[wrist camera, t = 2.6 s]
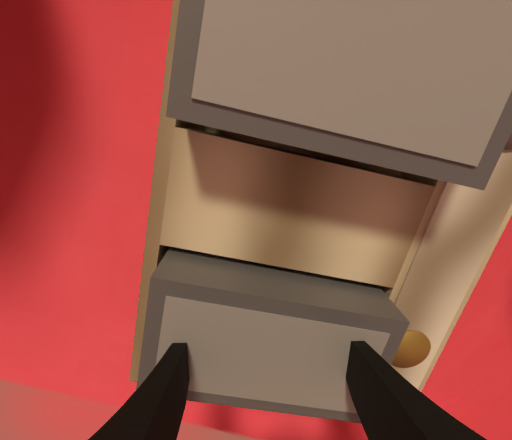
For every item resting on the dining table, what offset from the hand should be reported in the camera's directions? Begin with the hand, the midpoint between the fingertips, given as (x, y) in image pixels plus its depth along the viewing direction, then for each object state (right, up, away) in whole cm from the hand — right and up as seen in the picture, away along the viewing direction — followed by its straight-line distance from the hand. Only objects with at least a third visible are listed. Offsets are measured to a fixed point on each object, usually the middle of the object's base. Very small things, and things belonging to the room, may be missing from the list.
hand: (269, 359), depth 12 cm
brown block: (0, +1, +3) cm, 3 cm away
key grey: (+3, +12, -1) cm, 12 cm away
